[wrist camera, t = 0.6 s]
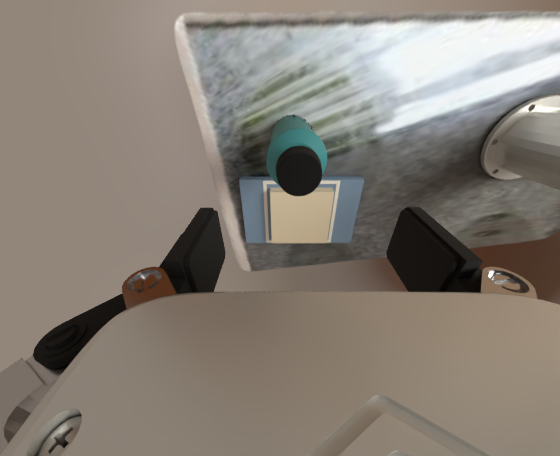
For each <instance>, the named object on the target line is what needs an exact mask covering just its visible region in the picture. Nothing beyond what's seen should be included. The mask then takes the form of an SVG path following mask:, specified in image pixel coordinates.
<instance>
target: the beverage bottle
mask: <svg viewBox="0 0 560 456" xmlns="http://www.w3.org/2000/svg"><path fill="white" fill-rule="evenodd" d="M303 119H304V118H303ZM303 119H302V118H300V117H298V116H295V115H289V116H288V115H287V116H285V117H283V118H280V120H279V121H278V120H277V123H275V126H274V125H273V126H274V128H273V130H272V134H271V140H270V143H269V144H270V146H269V148H268V152H267V156H266V165H267V170H268V172H269V175H270V176H271V178H272V179H273V180H274V182H275V183H277V184H278V185H279V186H280V187H281V188H282V189H283V190H284V191H285V192H286V193H288V194H290V195H292V196H305V195H308V194H310V193H312V192H313V191H314V190H315V189H316V188H317V187H318V186H319V184H320V182H321V179H322V175H323V173H324V171H325V168H326V164H327V152H326V148H325V146H324V144H323V142H322V140H321V139H320V138H319V137H318V136H317V135H316V134H315V132H314V131H313V130H312V128H310V126H309V125H310V124H309V123H308V124H309V125H308V124H307V123H306V122H305V121H306V120H305V119H304V120H305V121H304V120H303Z"/></svg>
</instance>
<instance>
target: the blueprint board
mask: <svg viewBox="0 0 560 456" xmlns="http://www.w3.org/2000/svg"><path fill="white" fill-rule="evenodd" d="M364 180H365V179H364V178H363V177H362V176H323V177H322V179H321V182H320V184H319V186H318V187H317V188H316V189H315V190H314V191H313V192H312V193H310V194H308V195H305V196H292V195H290V194H288V193H286V192H285V191H284V190H283V189H282V188H281V187H280V186H279V185H278V184H277V183H275V182H274V180H273V179H272V178H271V177H240V179H239V184H240V192H241V201H242V209H243V218H244V226H245V235H246V243H350V242H351V238H352V233H353V229H354V225H355V220H356V216H357V211H358V207H359V202H360V198H361V193H362V189H363V185H364Z"/></svg>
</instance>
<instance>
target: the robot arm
mask: <svg viewBox="0 0 560 456" xmlns="http://www.w3.org/2000/svg"><path fill="white" fill-rule="evenodd" d="M480 159H481V165H482V168H483V170H484V171H485V172H486V173H487V174H488V175H490V176H492V177H495V178H497V179H502V180H510V179H516V178H520V177H525V178H528V179H530V180H533V181H536V182H539V183H541V184H544V185H547V186H550V187H553V188H555V189H558V190H560V95H546V96H541V97H537V98H534V99H532V100H529V101H527V102H525V103H523V104H521V105H520V106H518V107H516V108H515V109H514V110H512V111H511V112H509V113H508V114H507V115H506V116H505V117H504V118H502V119H501V120H500V122H499V123H498V124H497V125H496V126H495V127H494V128H493V130H492V131H491V132H490V134H489V135H488V137H487V139H486V141H485V142H484V145H483V148H482V151H481V157H480ZM387 258H388V260H389V261H390V263H391V265H392V266H393V268H394V269H395V271H396V273H397V274H398V276H399V277H400V279H401V281H402V282H403V284H404V285H405V287H406V289H407V290H408V292H365V291H363V292H362V291H359V292H357V291H356V292H351V291H346V292H345V291H344V292H343V291H339V292H338V291H334V292H333V291H313V292H312V291H307V292H306V291H304V292H303V291H300V292H297V291H296V292H294V291H289V292H288V291H287V292H286V291H285V292H214V289H215V286H216V283H217V280H218V277H219V274H220V271H221V268H222V265H223V262H224V259H225V248H224V243H223V238H222V233H221V228H220V223H219V217H218V212H217V211H214V210H213V208H200V209H199V211H198V212H197V214H196V215H195V217H194V218H193V220H192V221H191V223H190V224H189V225H188V227H187V228H186V230H185V232H184V233H183V234H182V235H181V236H180V237H179V239H178V240H177V242H176V243H175V245H174V246H173V248H172V249H171V250H170V252H169V253H168V255H167V256H166V258H165V259H164V260H163V262H162V264H161V265H160V267H149V268H145V269H142V270H140V271H137V272H135V273H134V274H132V275H131V276H130V277H128V279H127V280H125V282H124V283H123V285H122V294H120V295H118V296H116V297H114V298H113V299H110V300H108V301H106V302H104V303H102V304H100V305H98V306H96V307H94V308H92V309H90V310H88V311H86V312H84V313H82V314H80V315H78V316H76V317H74V318H72V319H70V320H69V321H66V322H64V323H62V324H61V325H59V326H57V327H55V328H54V329H53V330H51V331H50V332H49V333H47V334H46V335H45V336H44V337H43V338H42V339H41V340H40V341H39V343H38V344H37V346H36V347H35V349H34V353H33V356H31V357H30V358H28V359H27V360H24V359H23V358H21V359H20V360H18V361H17V362H15V363H14V364H12V365H11V366H9V367H8V368H6V369H5V370H4V371H2V372H1V373H0V456H560V305H558V304H555V303H551V302H547V301H543V300H540V299H538V298H537V295H536V291H535V289H534V287H533V286H532V285H531V284H530V282H528V281H527V280H526V279H524V278H523V277H521V276H519V275H517V274H515V273H513V272H511V271H508V270H505V269H502V268H497V267H487V268H484V269H483V270H481V269H480V268H479V266H480V265H481V263H482V262H483V261H482V260H481V259H480V258H479V257H477V256H476V255H475V254H474V253H473V252H472V251H470V250H469V249H468V248H467V247H466V246H465V245H463V244H462V243H461V242H460V241H459V240H458V239H456V238H455V237H454V236H453V235H452V234H451V233H449V232H448V231H447V230H446V229H445V228H444V227H442V226H441V225H440V224H439V223H438V222H436V221H435V220H434V219H433V218H432V217H431V216H429V215H428V214H427V213H426V212H425V211H424V210H422V209H421V208H420V207H407V208H405V209H404V210H402V211H401V213H400V215H399V218H398V221H397V224H396V227H395V229H394V232H393V235H392V238H391V241H390V244H389V246H388V249H387Z"/></svg>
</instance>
